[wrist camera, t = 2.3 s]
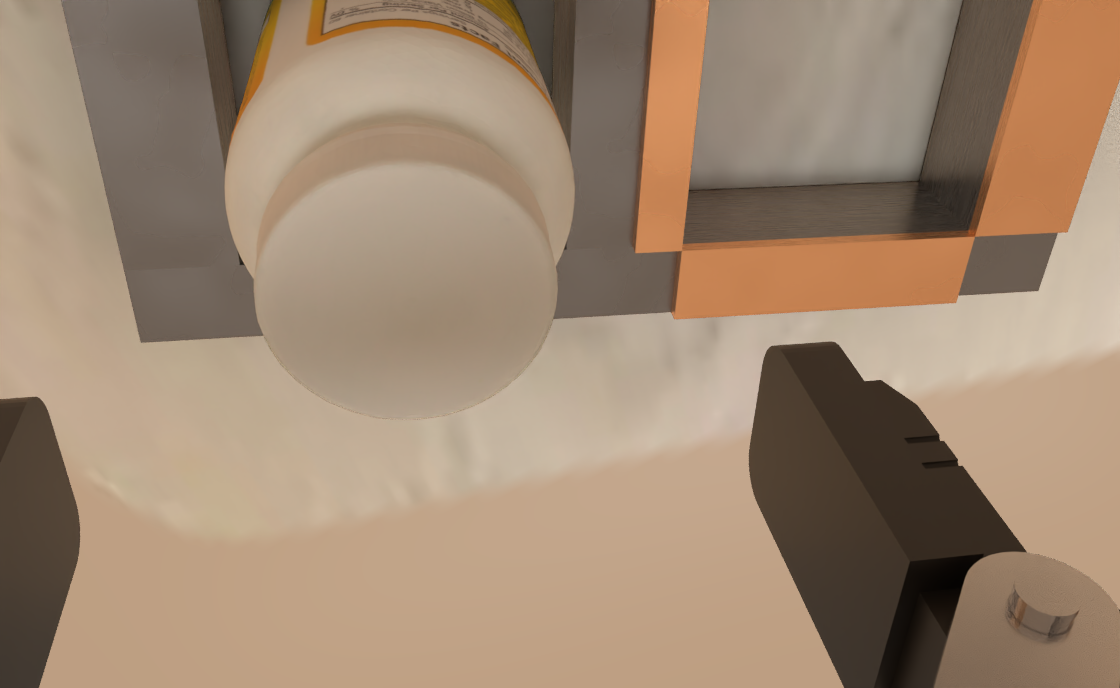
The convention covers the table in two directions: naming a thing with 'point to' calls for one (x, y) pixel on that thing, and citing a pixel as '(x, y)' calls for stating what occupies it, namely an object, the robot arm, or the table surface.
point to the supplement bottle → (400, 200)
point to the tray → (640, 168)
